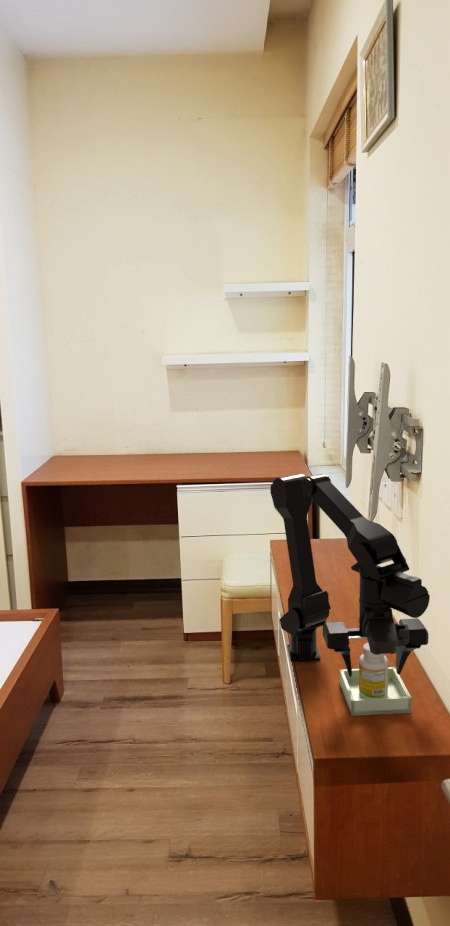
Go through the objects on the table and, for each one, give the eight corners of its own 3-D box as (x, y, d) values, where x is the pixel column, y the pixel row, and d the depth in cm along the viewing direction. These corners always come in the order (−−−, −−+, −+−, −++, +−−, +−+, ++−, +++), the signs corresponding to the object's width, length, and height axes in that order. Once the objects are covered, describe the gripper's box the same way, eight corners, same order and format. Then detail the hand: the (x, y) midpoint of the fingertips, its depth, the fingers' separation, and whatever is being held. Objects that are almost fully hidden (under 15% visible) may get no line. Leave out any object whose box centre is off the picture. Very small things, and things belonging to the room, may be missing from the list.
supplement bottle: (367, 682, 131) (367, 637, 129) (392, 691, 127) (393, 645, 125) (353, 695, 127) (354, 648, 124) (379, 704, 123) (380, 656, 121)
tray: (339, 683, 132) (339, 669, 132) (394, 680, 132) (394, 666, 132) (351, 715, 122) (351, 701, 121) (411, 712, 122) (411, 698, 121)
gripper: (332, 620, 115) (333, 701, 118) (440, 615, 115) (437, 696, 118) (321, 593, 125) (322, 668, 129) (420, 589, 126) (417, 664, 129)
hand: (374, 674), depth 126 cm, fingers open, 9 cm apart
